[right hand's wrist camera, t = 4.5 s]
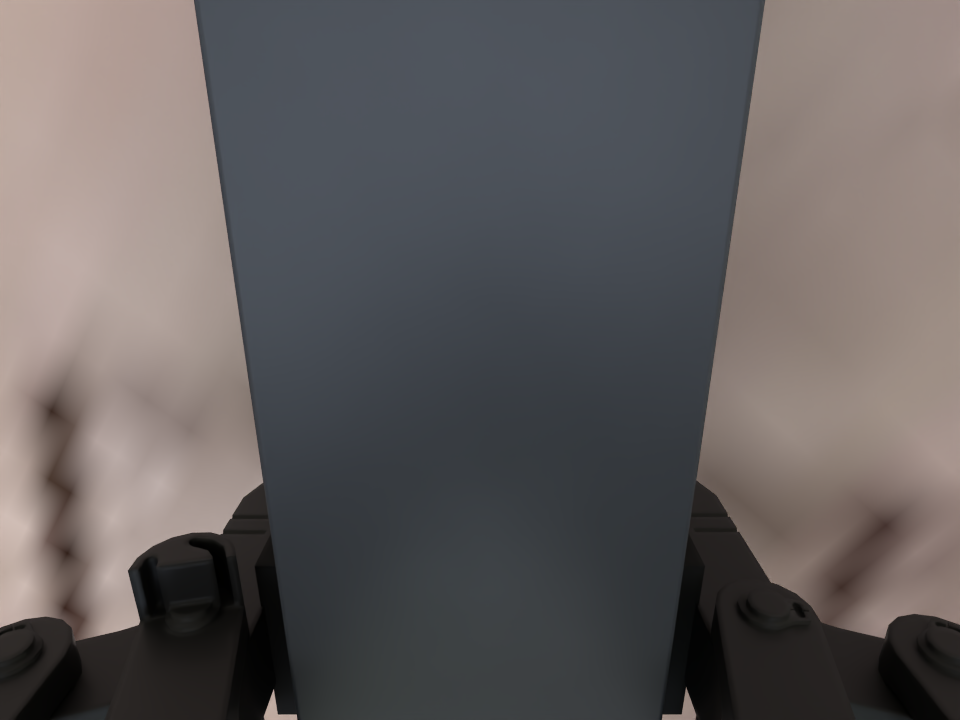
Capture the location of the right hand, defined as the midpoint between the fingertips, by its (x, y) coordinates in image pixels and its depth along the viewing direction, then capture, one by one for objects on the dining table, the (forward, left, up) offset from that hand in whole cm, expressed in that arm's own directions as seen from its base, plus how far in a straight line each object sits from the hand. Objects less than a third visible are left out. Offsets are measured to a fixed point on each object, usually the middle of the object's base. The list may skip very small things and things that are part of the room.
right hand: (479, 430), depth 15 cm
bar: (+16, +12, -1) cm, 20 cm away
